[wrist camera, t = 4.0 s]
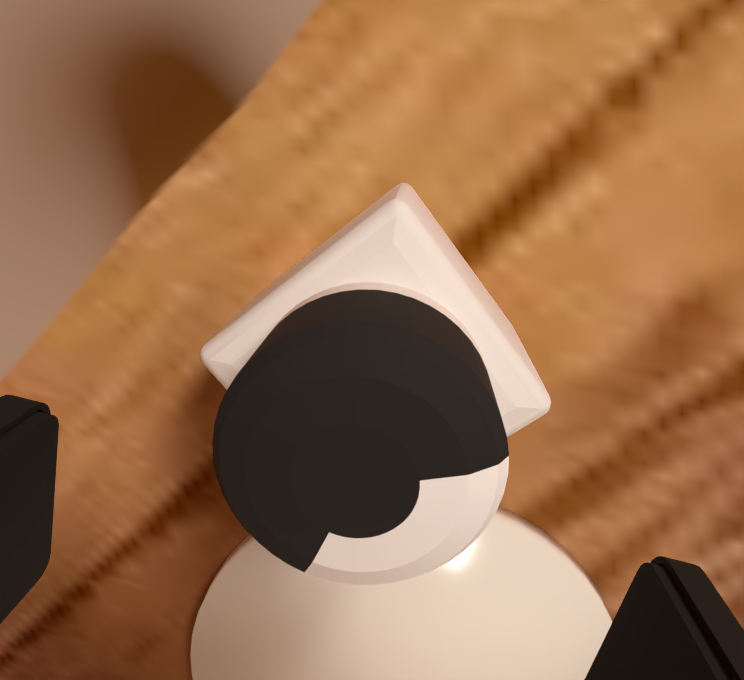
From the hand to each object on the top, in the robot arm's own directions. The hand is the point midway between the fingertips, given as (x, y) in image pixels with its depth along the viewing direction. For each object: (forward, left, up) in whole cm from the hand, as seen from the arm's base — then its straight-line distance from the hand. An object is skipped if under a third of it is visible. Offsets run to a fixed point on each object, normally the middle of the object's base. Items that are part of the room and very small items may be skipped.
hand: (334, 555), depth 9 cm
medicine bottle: (0, 0, -14) cm, 14 cm away
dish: (-5, +17, -14) cm, 23 cm away
